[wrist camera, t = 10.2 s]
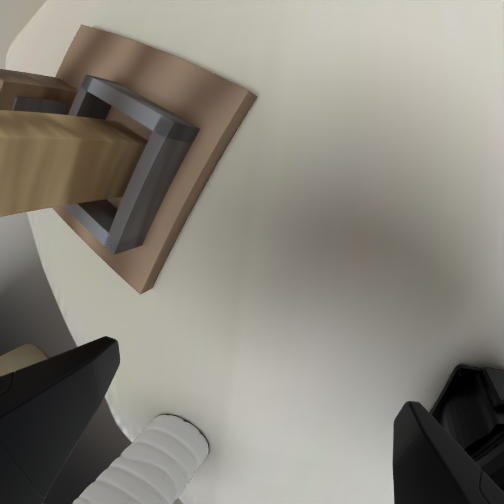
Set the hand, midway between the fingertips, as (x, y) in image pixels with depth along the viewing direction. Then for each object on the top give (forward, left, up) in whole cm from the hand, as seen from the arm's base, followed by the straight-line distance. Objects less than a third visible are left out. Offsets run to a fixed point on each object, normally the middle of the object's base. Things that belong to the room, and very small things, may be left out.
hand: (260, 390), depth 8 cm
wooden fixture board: (+6, +18, -12) cm, 22 cm away
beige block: (+5, +15, -10) cm, 19 cm away
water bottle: (-21, +9, -12) cm, 26 cm away
